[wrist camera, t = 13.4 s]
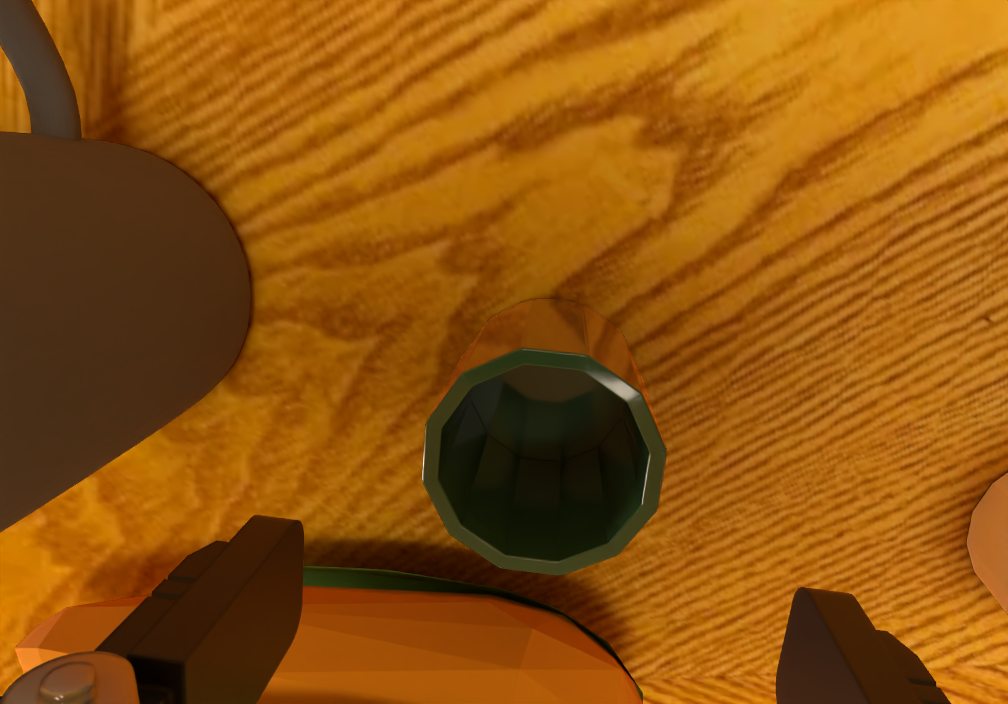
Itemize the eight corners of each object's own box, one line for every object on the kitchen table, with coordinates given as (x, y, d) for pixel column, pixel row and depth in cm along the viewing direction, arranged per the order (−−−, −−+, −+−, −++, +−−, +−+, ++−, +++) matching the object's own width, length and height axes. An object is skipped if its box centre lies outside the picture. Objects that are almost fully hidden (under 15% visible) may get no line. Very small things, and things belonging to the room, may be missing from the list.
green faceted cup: (649, 307, 22) (681, 365, 16) (624, 474, 23) (645, 587, 17) (469, 289, 22) (430, 337, 16) (456, 454, 24) (416, 558, 18)
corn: (645, 967, 19) (-80, 868, 20) (621, 752, 26) (95, 690, 27) (677, 716, 17) (-106, 627, 18) (642, 564, 25) (86, 508, 26)
